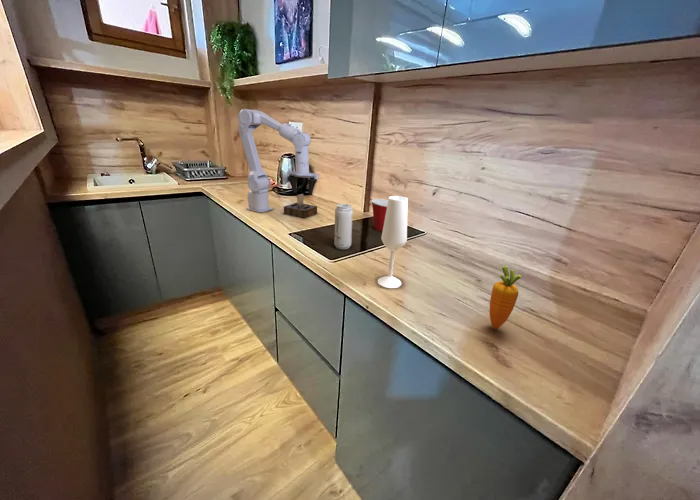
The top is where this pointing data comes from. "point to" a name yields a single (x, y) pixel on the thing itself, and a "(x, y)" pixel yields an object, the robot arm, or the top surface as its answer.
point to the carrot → (503, 298)
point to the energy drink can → (343, 226)
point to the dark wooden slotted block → (300, 210)
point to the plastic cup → (379, 212)
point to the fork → (300, 200)
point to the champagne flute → (394, 234)
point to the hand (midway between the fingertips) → (302, 193)
